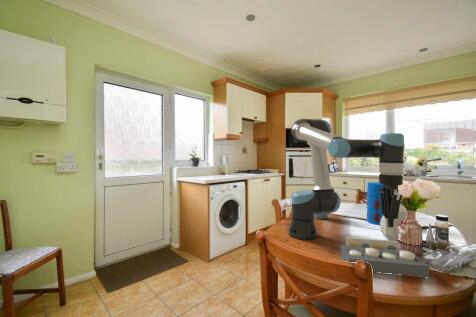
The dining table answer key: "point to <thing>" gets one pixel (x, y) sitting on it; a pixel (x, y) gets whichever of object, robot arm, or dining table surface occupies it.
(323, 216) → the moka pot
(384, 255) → the button
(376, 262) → the board
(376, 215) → the thermos
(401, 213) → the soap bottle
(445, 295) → the dining table surface
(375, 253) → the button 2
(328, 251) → the dining table surface
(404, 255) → the button
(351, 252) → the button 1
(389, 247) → the card
